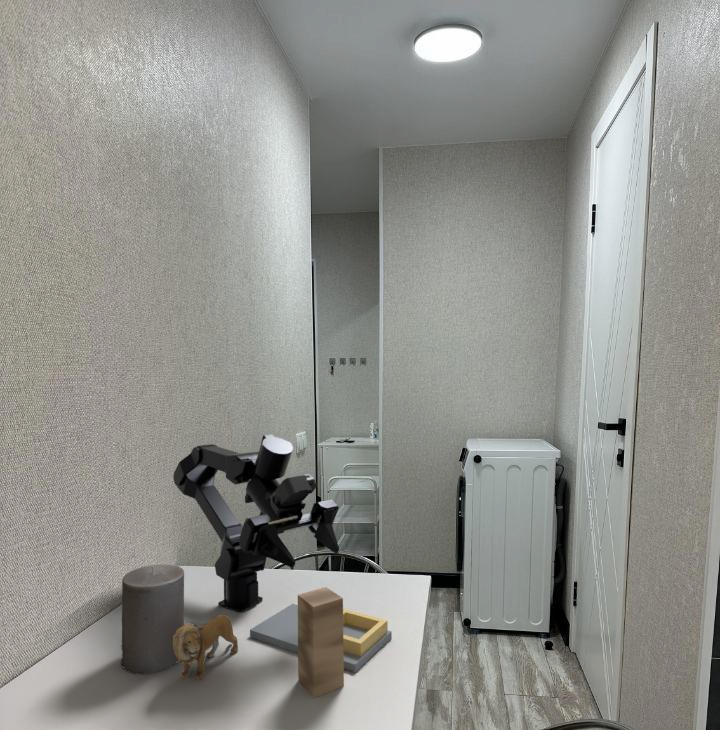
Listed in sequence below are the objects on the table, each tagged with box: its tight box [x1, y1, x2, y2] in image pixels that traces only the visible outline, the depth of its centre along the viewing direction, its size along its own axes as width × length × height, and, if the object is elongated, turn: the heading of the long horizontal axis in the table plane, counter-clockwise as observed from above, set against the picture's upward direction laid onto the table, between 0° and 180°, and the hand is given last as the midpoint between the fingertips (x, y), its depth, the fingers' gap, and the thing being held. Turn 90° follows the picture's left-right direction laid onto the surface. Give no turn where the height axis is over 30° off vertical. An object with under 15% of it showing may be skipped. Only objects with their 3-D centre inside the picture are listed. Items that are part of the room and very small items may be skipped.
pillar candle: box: [120, 563, 185, 675], centre depth 86 cm, size 10×10×15 cm
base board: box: [249, 603, 393, 673], centre depth 92 cm, size 22×12×3 cm, turn 59°
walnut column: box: [297, 586, 345, 699], centre depth 78 cm, size 5×5×13 cm
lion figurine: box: [173, 614, 239, 681], centre depth 84 cm, size 15×5×9 cm, turn 163°
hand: (316, 558), depth 87 cm, fingers open, 9 cm apart
